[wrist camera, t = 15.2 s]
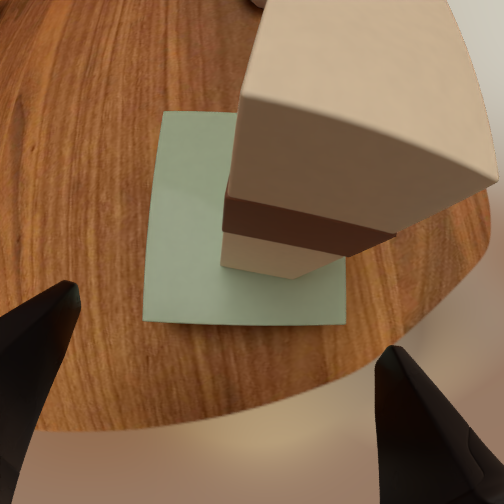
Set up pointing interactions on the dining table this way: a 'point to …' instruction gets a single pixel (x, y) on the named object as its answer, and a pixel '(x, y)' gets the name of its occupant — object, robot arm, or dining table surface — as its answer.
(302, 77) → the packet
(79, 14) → the dining table surface
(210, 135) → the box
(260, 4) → the apple
